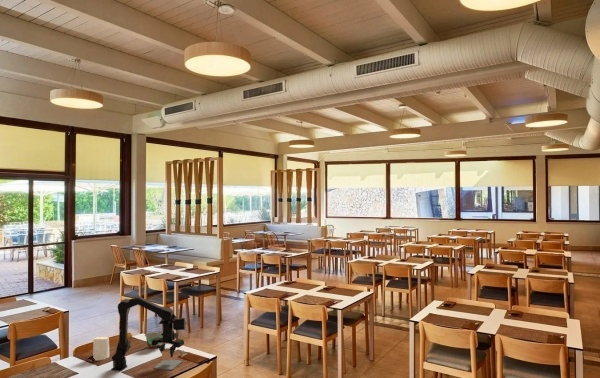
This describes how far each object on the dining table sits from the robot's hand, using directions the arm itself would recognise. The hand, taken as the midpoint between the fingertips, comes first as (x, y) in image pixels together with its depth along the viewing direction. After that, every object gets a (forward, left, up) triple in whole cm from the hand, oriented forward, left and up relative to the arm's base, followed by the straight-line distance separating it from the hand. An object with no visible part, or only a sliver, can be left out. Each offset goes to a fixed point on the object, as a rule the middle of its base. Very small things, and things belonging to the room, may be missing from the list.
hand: (168, 356), depth 241 cm
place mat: (0, 0, -5) cm, 5 cm away
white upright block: (-48, +1, -5) cm, 48 cm away
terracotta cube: (0, 0, -1) cm, 1 cm away
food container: (-24, +22, -5) cm, 33 cm away
